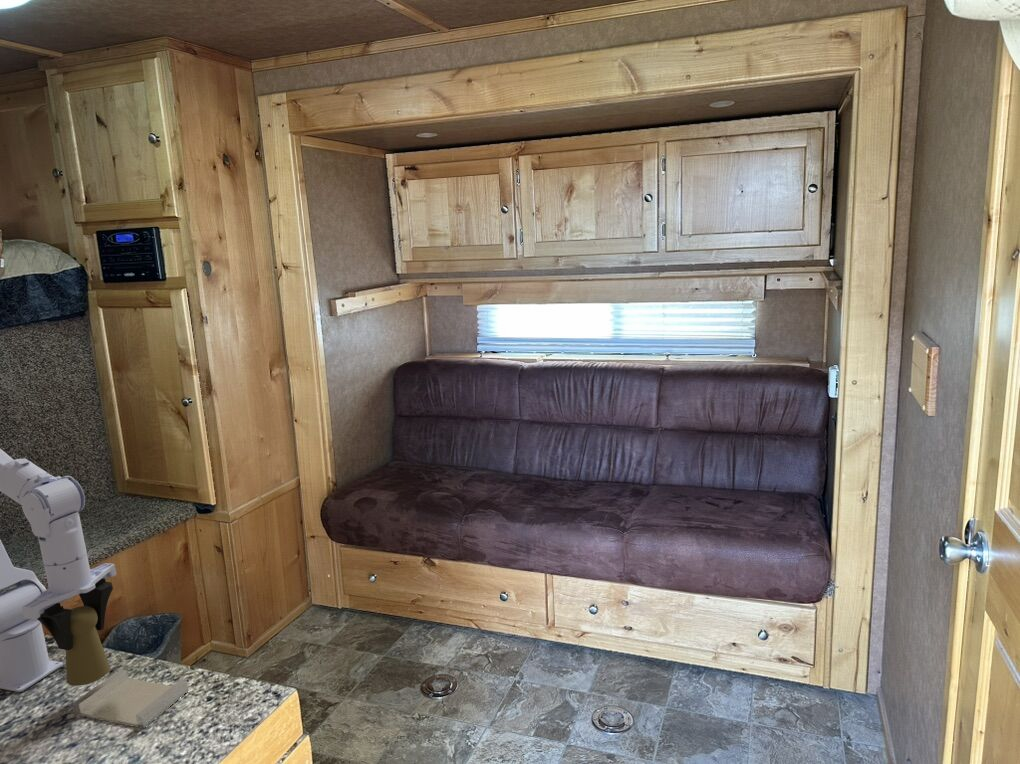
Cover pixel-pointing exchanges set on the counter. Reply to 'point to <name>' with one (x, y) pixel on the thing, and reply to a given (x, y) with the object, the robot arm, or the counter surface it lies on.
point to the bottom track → (129, 700)
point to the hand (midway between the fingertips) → (82, 638)
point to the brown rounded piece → (85, 649)
